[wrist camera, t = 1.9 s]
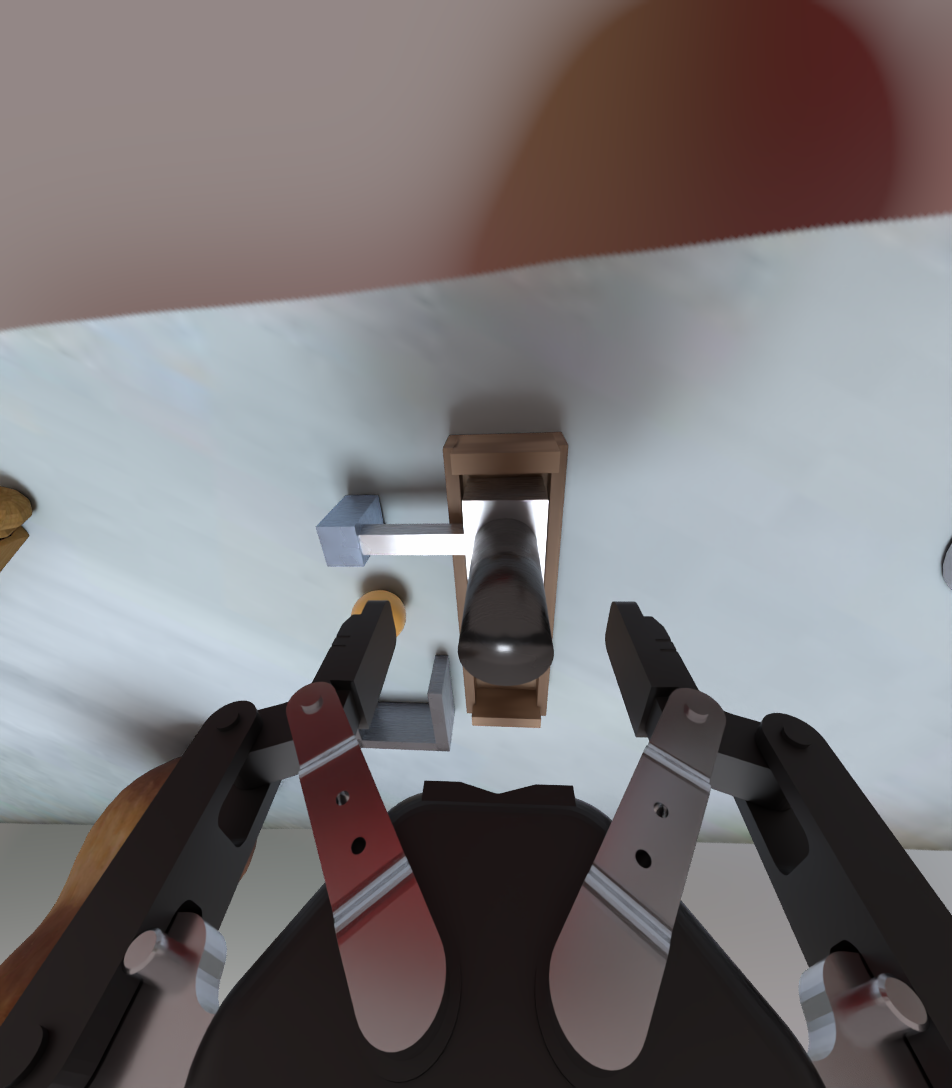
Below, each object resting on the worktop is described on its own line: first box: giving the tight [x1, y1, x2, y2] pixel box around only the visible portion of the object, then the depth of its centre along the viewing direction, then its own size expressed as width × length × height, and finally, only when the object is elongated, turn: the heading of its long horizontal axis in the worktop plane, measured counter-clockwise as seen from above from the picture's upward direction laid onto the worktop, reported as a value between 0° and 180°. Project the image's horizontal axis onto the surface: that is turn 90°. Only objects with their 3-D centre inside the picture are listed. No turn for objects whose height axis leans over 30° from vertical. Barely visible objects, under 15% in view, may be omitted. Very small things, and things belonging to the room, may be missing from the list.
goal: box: [355, 655, 455, 751], centre depth 29 cm, size 8×7×4 cm
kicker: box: [316, 477, 554, 686], centre depth 17 cm, size 12×5×11 cm, turn 93°
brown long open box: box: [443, 432, 568, 728], centre depth 23 cm, size 6×20×4 cm, turn 3°
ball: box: [351, 590, 406, 637], centre depth 25 cm, size 4×4×4 cm
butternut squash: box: [0, 757, 257, 1026], centre depth 29 cm, size 14×13×25 cm
